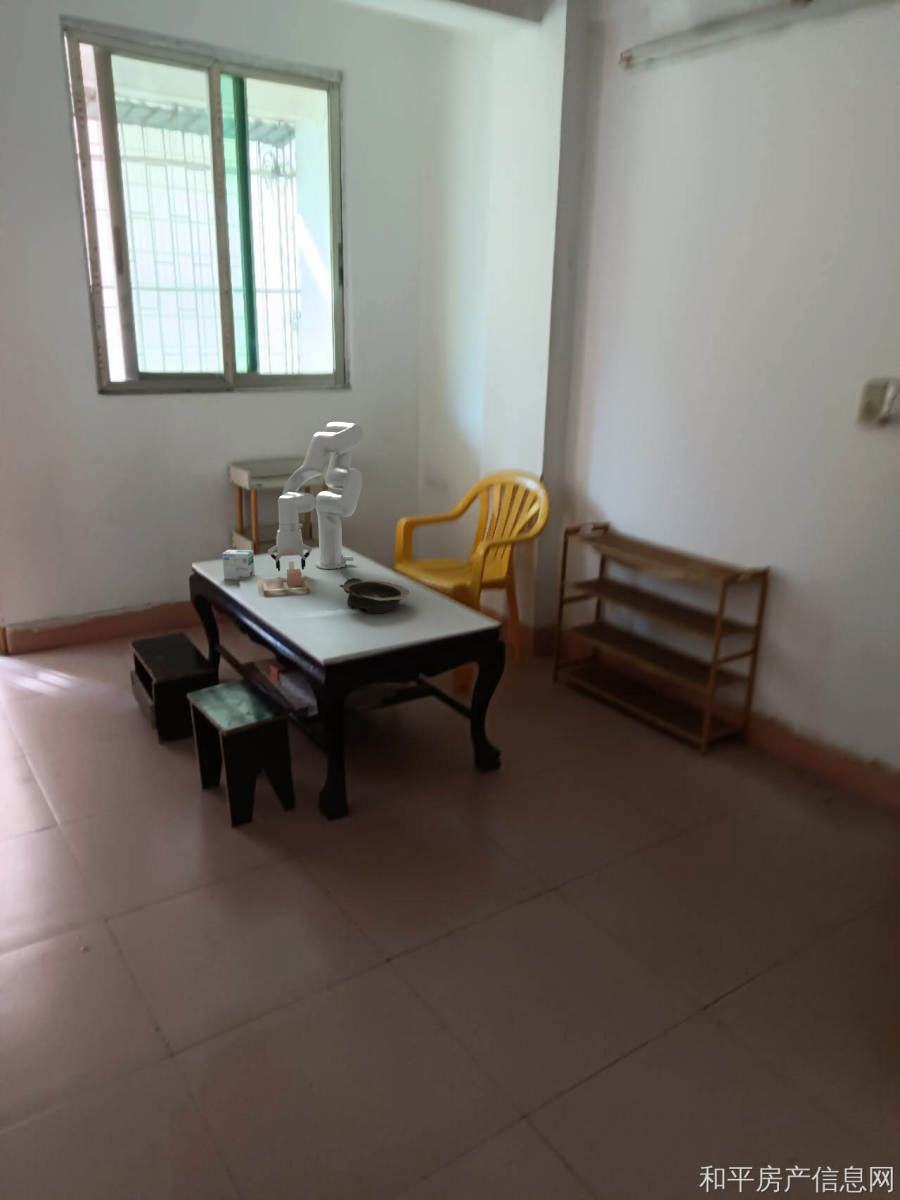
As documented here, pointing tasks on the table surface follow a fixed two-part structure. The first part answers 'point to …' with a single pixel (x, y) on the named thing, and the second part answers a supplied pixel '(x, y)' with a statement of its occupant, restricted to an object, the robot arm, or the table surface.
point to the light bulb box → (238, 563)
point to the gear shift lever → (293, 575)
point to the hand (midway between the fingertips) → (290, 569)
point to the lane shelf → (282, 587)
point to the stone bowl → (373, 595)
